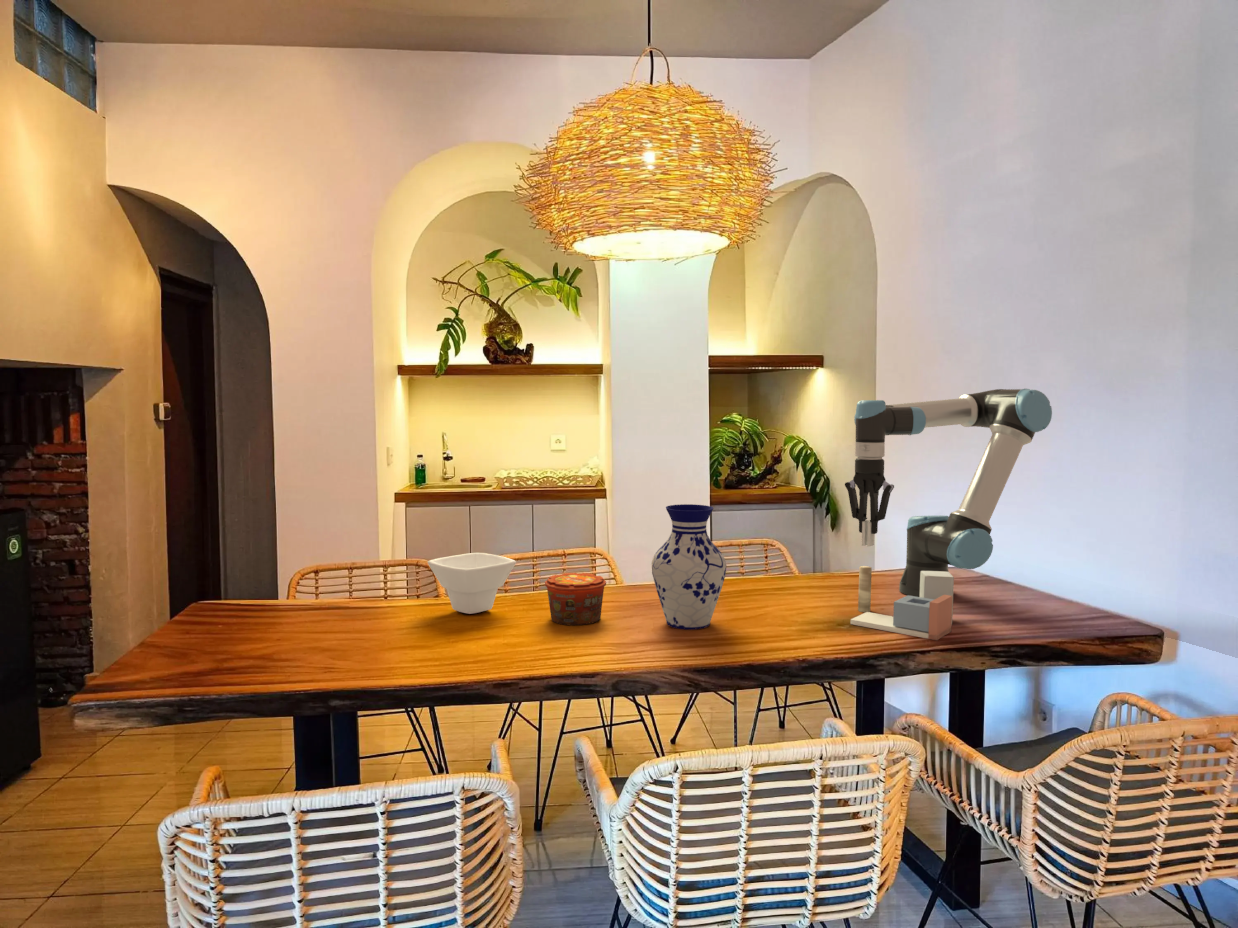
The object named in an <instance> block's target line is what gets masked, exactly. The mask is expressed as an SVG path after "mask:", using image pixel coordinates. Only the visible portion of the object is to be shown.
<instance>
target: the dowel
mask: <svg viewBox="0 0 1238 928" xmlns="http://www.w3.org/2000/svg"><path fill="white" fill-rule="evenodd" d="M872 569H873V567H872V566H868V565H860V566H859V569H858V571H859V572H858V575H859V576H858V601H857V603H858V604H857V605H858V606H857V611H858V612H860V613H866V612H871V600H872V598H871V597H872Z"/></svg>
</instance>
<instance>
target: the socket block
mask: <svg viewBox="0 0 1238 928" xmlns="http://www.w3.org/2000/svg"><path fill="white" fill-rule="evenodd" d="M933 600H934V599H928V598H922V597H916V596H910V595H907V594H906V595H905V596H903V597H901V598H899V599H897V600H895V601H893V626H898V627H904V628H909V629H915V630H920V631H925V632H929V606H930V602H931V601H933Z"/></svg>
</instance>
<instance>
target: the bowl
mask: <svg viewBox="0 0 1238 928" xmlns="http://www.w3.org/2000/svg"><path fill="white" fill-rule="evenodd" d="M516 564H517V561H516V560H514V559H512V558H509V557H505V556H503V555H498V554H491V553H486V552H471V553H470V552H469V553H462V554H456V555H450V556H449V555H448V556H444V557H438V558H434V559H433V558H432V559H430V560H427V565H428V566H429V568H430V570H431V572H432V573H433V574H434V576H435V578H436V579H437V581H438V583H439V584H440V586H441V587H442V588H444V589H446V592H447V594H448V599H449V602H450V605H451V608H452V609H453V610H454V611H456V612H459V613H463V614H467V615H468V614H469V615H470V614H477V613H481V612H485V611H489V610H492V608H493V606H494V603H495V599H496V595H497V594H498V593H497V592H498V589H499V588H500V587H503V586H504V584H505V582H506V581H507V579H508V578H509V575H510V574H511V572H512V570H513V569H514V568H515V565H516Z"/></svg>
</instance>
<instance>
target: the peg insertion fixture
mask: <svg viewBox="0 0 1238 928" xmlns="http://www.w3.org/2000/svg"><path fill="white" fill-rule="evenodd" d="M951 621H952V622H953V616H952V596H950V595H943V596H941V597H939V598H937V599H935V600H933V601H931V602H930V606H929V632H925V631H920V630H915V629H909V628H904V627H898V626H893V616H892V615H887V614H883V613H882V614H881V613H877V612H876V613H875V612H871V611H870V612H863V613H861V614H859V615H857V616H855V617H852V618H850V625H854V626H859V627H864V628H870V629H875V630H880V631H885V632H891V633H896V634H902V635H907V636H912V637H918V638H923V639H928V640H933V641H938V640H939V639H941V638H943V637H944V636H946V635H948V634H949V633H952V625H951Z"/></svg>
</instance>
